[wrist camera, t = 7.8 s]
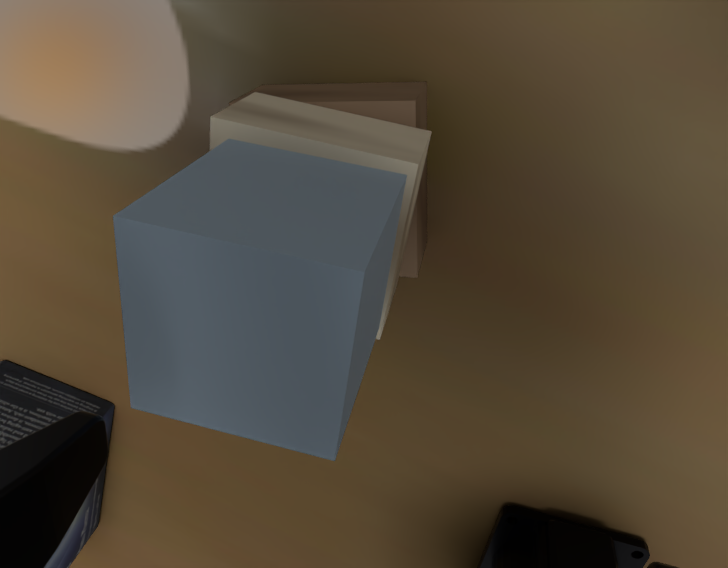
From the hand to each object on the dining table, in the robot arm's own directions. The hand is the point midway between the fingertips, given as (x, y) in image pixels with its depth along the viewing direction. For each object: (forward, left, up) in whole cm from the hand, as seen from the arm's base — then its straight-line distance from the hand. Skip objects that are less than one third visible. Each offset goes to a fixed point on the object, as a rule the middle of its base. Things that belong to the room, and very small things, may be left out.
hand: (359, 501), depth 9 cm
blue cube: (+1, +3, -7) cm, 8 cm away
